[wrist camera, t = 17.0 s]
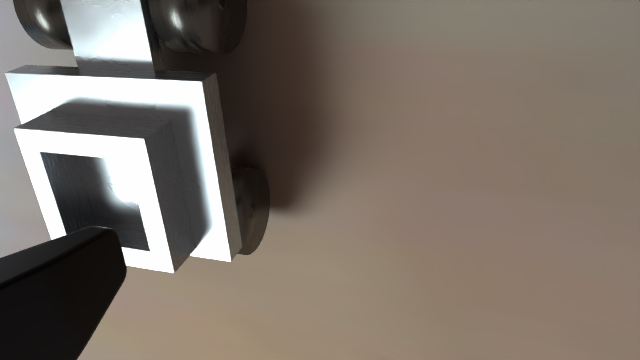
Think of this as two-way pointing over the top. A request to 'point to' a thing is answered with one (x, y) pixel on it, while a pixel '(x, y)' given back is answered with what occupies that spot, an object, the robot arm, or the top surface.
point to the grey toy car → (136, 129)
